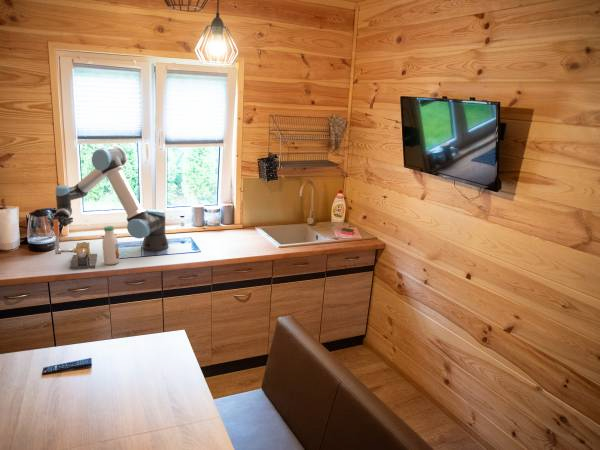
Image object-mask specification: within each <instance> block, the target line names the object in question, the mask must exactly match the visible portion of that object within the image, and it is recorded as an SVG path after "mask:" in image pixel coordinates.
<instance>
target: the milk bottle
mask: <svg viewBox="0 0 600 450" xmlns="http://www.w3.org/2000/svg"><path fill="white" fill-rule="evenodd" d="M103 229H104V237H103V239H102V253H103V263H104V264H105V265H116V264H119V263H120V253H119V243H118V242H119V241H118V239H117V237H116V235H115V231H114V229H115V227H114V226H111V225H107V226H104V228H103Z"/></svg>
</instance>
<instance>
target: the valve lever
mask: <svg viewBox="0 0 600 450" xmlns="http://www.w3.org/2000/svg"><path fill="white" fill-rule="evenodd" d="M53 224H54V226H53V234H54V237H55V249H54V254H55V255H61V254H62V253H74V251H73V249H74V248H73V249H72V248H71V249H61V248H60V240H59V239H60V237H59V236H60V228H59V223H58V220H53Z"/></svg>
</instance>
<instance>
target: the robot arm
mask: <svg viewBox="0 0 600 450" xmlns="http://www.w3.org/2000/svg"><path fill="white" fill-rule="evenodd" d="M127 160H128V155H127V153H126V151H125V149H123V148H122V147H119V146H110V147H102V148H98V149H96V150H95V151H94V152H93V153H92V156H91V164H92V166H93V168H94V169H93V170H92V171H91V172H89V173H88V174H87V175H86V176H84V177H83V179H81V180H80V181H79V182H78V183H77V184H75V185H74V186H71V187H70V186H69V185H57V186H56V187H55V200H56V201H55V202H56V212H55V214H54V216H53V217H52V218H51V217H47V223H48V224H49V225H50V227H51V228H52V227H53V228H54V224H53V220H58V223H59V229H60V228H63V227H67V226H68V225H70V224H71V223H73V222H74V218H73V217H71V216H72V214H73V209H72V202H71V201H74V200H78V199H82V198H85V197H87V196H88V194H89V192H90V191H91V190H92V189H94V188H95V187H96V186H97V185H98V184H100V183H101V182H102V181H103V180H104V179H106V178H107V179H108V181H109V183H110V184H111V187H112V189H113V190H114V193H115V194H116V196H117V198H118V200H119V202H120V204H121V206H122V208H123V209H124V211H125V213H126V215H127V216H126V221H127V226H126V229H127V231H128V233H129V235H130V236H132V237H133V238H135V239H143V241H142V245H141V247H142V249H144V250H146V251H151V252H152V251H153V252H157V251H163V250H167V249H168V248H169V241H168V238H167V235H166V213H165V211H164V210H161V209H154V208H153V209H151V208H150V209H143V208H142V206H141V205H140V203H139V201H138V199H137V196H136V194H135V193H134V191H133V189H132V186H131V185H130V183H129V181H128V180H127V177H126V176H125V174H124V171H123V169H124V165H125V164H126V163H127Z"/></svg>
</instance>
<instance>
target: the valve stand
mask: <svg viewBox="0 0 600 450" xmlns="http://www.w3.org/2000/svg"><path fill="white" fill-rule="evenodd" d="M90 245H91V244H90V242H86V241H81V242H77V243H76V245H75V248H73V255H72V258H71V261H70V265H69V270H70V269H73V270H86V269H88V268H90V269H96V267H97V265H96V264H97V259H98V253H91V247H90Z"/></svg>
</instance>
